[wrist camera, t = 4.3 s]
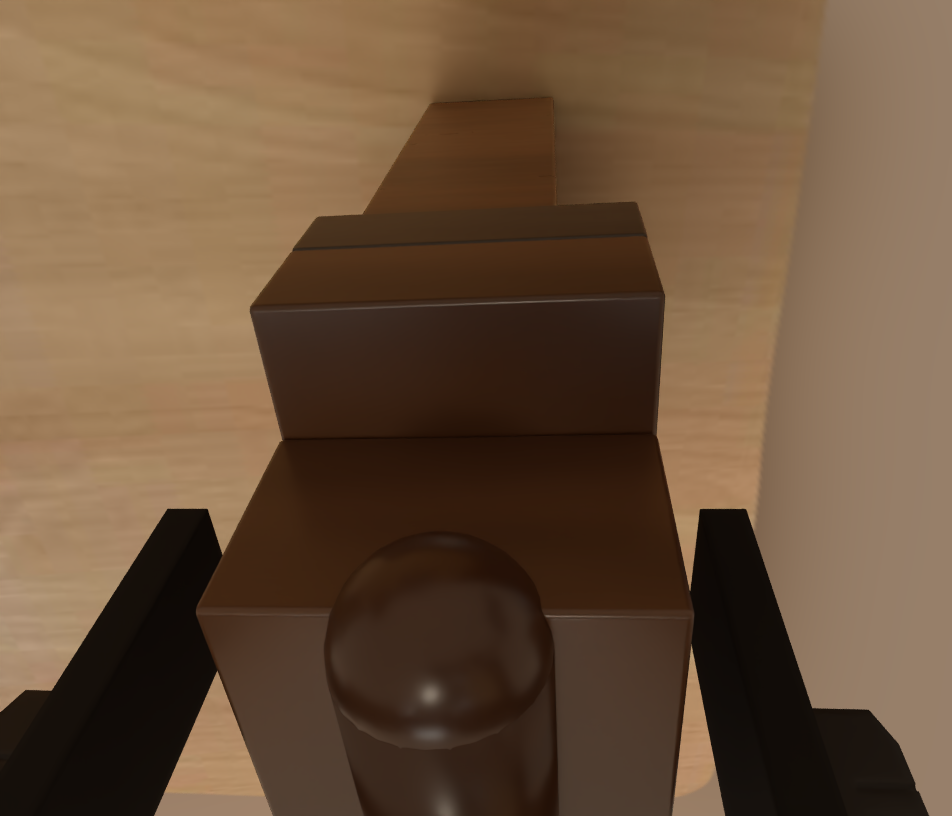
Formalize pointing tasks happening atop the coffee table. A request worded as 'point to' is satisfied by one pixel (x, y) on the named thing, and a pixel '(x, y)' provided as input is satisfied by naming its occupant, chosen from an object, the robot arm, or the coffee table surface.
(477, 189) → the wooden block
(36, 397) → the coffee table surface
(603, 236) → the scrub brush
